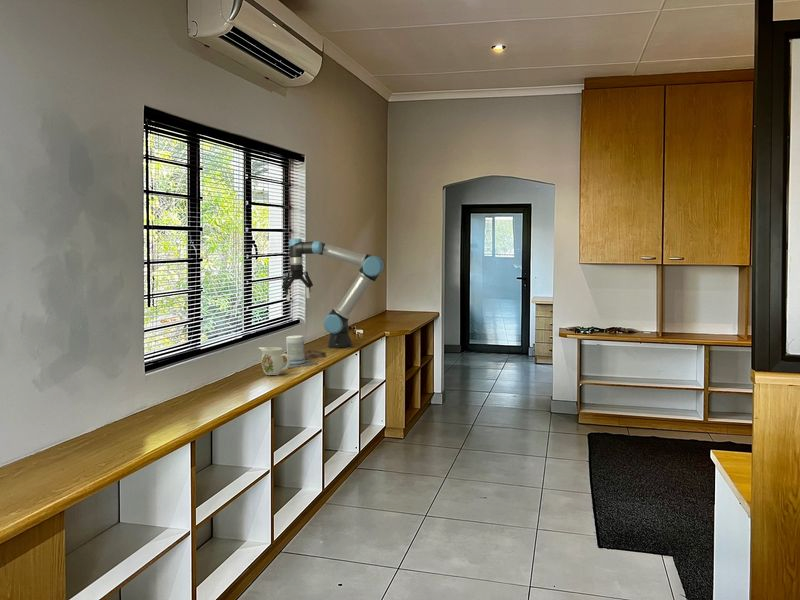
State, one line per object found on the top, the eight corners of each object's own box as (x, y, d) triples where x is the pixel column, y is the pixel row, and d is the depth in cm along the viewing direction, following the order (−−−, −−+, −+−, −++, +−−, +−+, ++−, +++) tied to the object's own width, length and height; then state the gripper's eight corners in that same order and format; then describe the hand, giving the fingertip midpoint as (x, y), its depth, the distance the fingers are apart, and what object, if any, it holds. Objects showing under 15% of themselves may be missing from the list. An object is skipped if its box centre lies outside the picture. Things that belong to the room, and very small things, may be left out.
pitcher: (284, 377, 341) (283, 350, 340) (253, 376, 348) (252, 349, 347) (295, 373, 352) (294, 346, 350) (265, 372, 358) (264, 345, 357)
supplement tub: (308, 363, 376) (306, 336, 375) (292, 365, 371) (290, 338, 370) (300, 360, 384) (298, 334, 383) (284, 363, 379) (283, 336, 378)
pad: (302, 359, 390) (302, 359, 390) (318, 363, 376) (318, 363, 376) (273, 364, 379) (273, 363, 379) (289, 368, 365) (289, 367, 365)
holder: (312, 353, 411) (311, 349, 410) (325, 356, 398) (325, 352, 398) (291, 356, 402) (291, 352, 402) (304, 359, 390) (304, 355, 390)
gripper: (311, 263, 429) (312, 297, 431) (275, 265, 414) (277, 300, 416) (317, 263, 423) (319, 297, 425) (281, 265, 408) (282, 301, 410)
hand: (298, 299), depth 420 cm, fingers open, 13 cm apart
